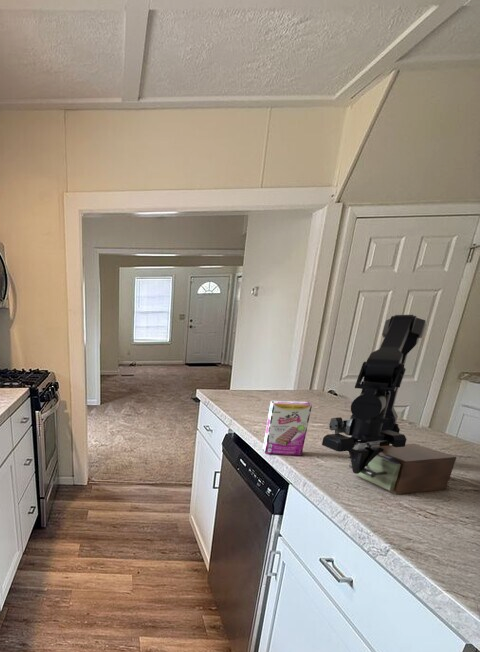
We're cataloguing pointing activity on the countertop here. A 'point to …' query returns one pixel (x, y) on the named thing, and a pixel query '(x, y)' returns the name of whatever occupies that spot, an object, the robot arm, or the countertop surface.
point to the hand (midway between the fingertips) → (355, 473)
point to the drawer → (381, 472)
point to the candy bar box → (286, 427)
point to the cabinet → (419, 468)
